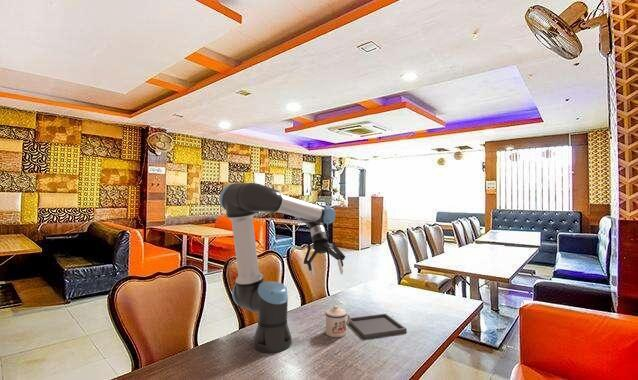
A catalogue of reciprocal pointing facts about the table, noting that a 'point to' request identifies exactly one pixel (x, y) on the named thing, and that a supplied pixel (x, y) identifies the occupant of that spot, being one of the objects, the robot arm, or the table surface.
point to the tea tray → (376, 326)
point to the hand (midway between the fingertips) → (328, 274)
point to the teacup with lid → (336, 322)
